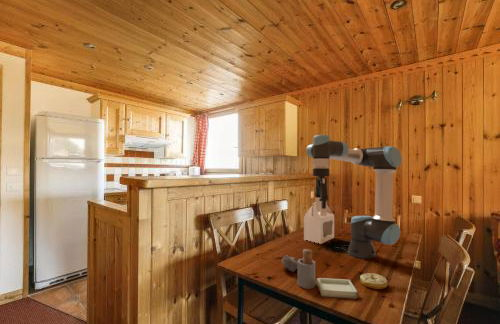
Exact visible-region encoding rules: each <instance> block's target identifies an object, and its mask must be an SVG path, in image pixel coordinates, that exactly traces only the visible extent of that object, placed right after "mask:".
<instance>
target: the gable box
mask: <svg viewBox="0 0 500 324" xmlns="http://www.w3.org/2000/svg"><path fill="white" fill-rule="evenodd" d="M311 204H312V206H310V208H309V209H308V210H307V212H305V215H304V216H303V240H304V241H306V240H308V241H307V242H310V241H311V242H310V243H314V242H315V244H318V243H319V245H322V244H324V243H326V242H328V241H330V240H332V239H334V238H335V214H334V213H333V211H332V210H331V208H330V207H329V205H328V204H327V216H320V211H316V201H313V203H311Z"/></svg>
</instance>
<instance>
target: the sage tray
mask: <svg viewBox="0 0 500 324" xmlns="http://www.w3.org/2000/svg"><path fill="white" fill-rule="evenodd" d="M316 284H317V286H318V289H319V292H320V295H321V297H327V298H328V297H329V298H344V299H345V298H346V299H358V297H359V294H358V293H359V292H358V291H357V289H356V287H355V286H354V284H353V283H352V282H351V279H342V278H326V277H317V279H316Z"/></svg>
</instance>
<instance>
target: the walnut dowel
mask: <svg viewBox="0 0 500 324" xmlns="http://www.w3.org/2000/svg"><path fill="white" fill-rule="evenodd" d="M302 259H303V264H312V260H313V250H312V249H308V248H304V249H302Z"/></svg>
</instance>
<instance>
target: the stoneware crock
mask: <svg viewBox="0 0 500 324" xmlns="http://www.w3.org/2000/svg"><path fill="white" fill-rule="evenodd" d="M296 262H297V269H296V270H297V271H296V272H297V276H296V277H297V280H296V282H297V285H298V286H299V287H300V288H302V289H314V288H315V287H316V261H315V260H313V259H312V264H303V258H299V259H298V260H297V261H296Z"/></svg>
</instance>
